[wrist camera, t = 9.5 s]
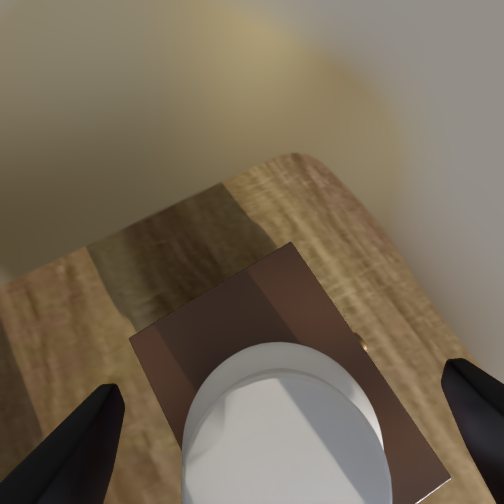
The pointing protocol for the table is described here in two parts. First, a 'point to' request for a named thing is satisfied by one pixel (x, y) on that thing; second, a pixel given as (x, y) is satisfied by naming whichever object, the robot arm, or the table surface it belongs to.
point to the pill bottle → (283, 433)
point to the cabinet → (279, 330)
